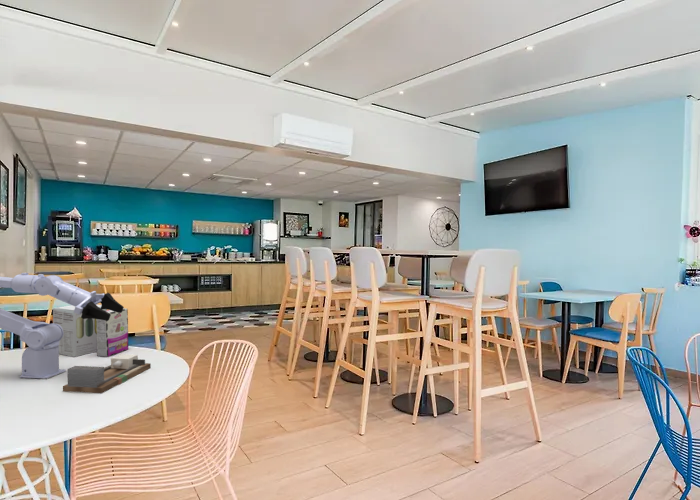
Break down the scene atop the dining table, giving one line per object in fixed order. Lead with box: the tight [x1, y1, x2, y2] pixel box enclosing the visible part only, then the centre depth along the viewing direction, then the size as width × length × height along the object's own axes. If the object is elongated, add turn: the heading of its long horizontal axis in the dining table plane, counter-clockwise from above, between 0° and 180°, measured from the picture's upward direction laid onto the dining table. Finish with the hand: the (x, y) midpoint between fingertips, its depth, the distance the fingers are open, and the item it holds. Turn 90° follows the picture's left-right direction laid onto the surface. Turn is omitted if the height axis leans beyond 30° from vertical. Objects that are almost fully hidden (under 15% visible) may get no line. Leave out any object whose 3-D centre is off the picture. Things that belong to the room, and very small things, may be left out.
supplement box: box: [52, 303, 108, 358], centre depth 165 cm, size 13×13×18 cm
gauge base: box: [62, 362, 152, 394], centre depth 133 cm, size 12×24×2 cm, turn 174°
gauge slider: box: [110, 353, 146, 369], centre depth 139 cm, size 10×7×3 cm
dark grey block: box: [66, 365, 105, 388], centre depth 122 cm, size 9×3×5 cm, turn 84°
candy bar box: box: [96, 308, 129, 358], centre depth 163 cm, size 11×5×16 cm, turn 168°
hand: (116, 313), depth 137 cm, fingers open, 7 cm apart
